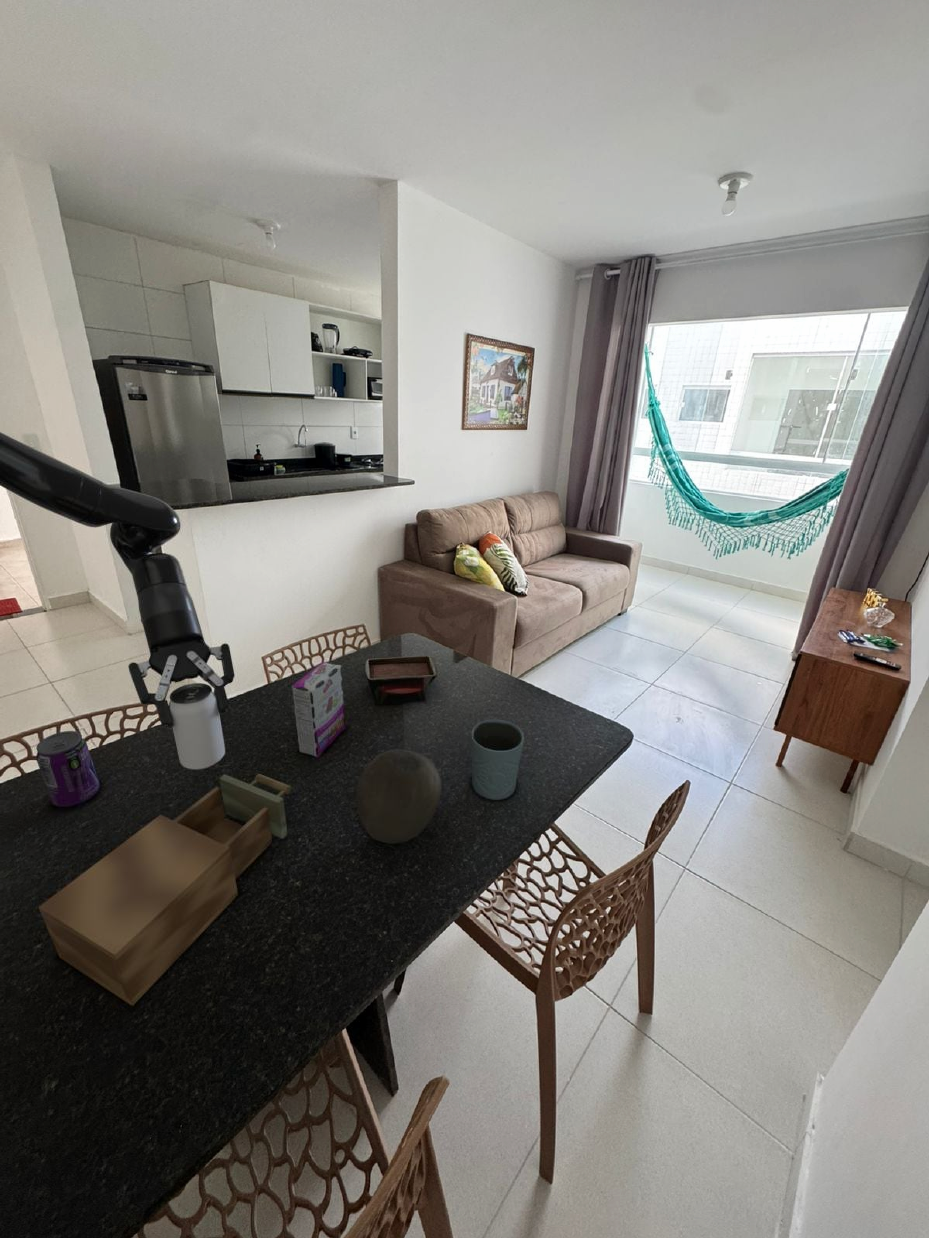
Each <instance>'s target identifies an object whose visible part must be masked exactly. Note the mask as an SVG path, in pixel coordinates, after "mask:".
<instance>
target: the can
mask: <svg viewBox="0 0 929 1238" xmlns="http://www.w3.org/2000/svg"><path fill="white" fill-rule="evenodd" d="M212 688H213V687H212V686H211V685H210V684H207V683H204V682H203V683H201V682H194V683H193V682H192V683H188V684H184V685H181V686H178V687H177V688H175V689H174V690H173V691H172V692H171V693H170V694H169V701H168V705H169V709H170V713H171V717H172V721H173V727H172V731H173V736H174V740H175V741H174V743H175V745H176V750H177V756H178V760H179V763H180V765H181V766H182V767H184V768H186V769H188V770H190V771H191V770H192V771H200V770H205V769H208V768H211V767H213V766H216V764H218V763H219V762H220V761H221V760H222V759H223V757H224V756H225V755H226V747H225V746H226V745H225V739H224V734H223V728H222V727H223V726H222V721H221V716H220V713H219V709H218V704H217V698H216V695H215V694H214V691H213V689H212Z"/></svg>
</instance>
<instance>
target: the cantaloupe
mask: <svg viewBox="0 0 929 1238" xmlns="http://www.w3.org/2000/svg"><path fill="white" fill-rule="evenodd" d="M442 787H443V786H442V779H441V776H440V773H439V771H438V769H437V768H436V766H435V765H434V763H433V762H432V761H431V760H430V759H429V758H427V757H426V756H425V755H422V754H421V753H418V752H416V751H413V750H408V749H407V750H405V749H401V748H400V749H399V748H398V749H391V750H387V751H384V752H382V753H380V754H378V755H377V756H375V758H373V759H372V760H371V761H370V762H369V764H368V765H367V767H366V768H365V770H364V771H363V773H362V775H361V777H360V779H359V781H358V784H357V786H356V795H355V804H356V811H357V813H358V817H359V820H360V821H361V824H362V826H363V829H364V830H365V831H366V832H367V834H368V835H369V836H370V838H372V839H373V840H375V841H377V842H381V843H384V844H390V845H394V844H395V845H396V844H401V843H404V842H405V843H406V842H408V841H410V840H412V839H414V838H415V837H417V836H418V835H419V834H420V833H422V831H423V830H424V829H425V828H426V827H427V826H428V824H429V823H430V822H431V820H432V818H433V817H434V815H435V813H436V811H437V809H438V806H439V804H440V802H441V797H442V790H443V789H442Z"/></svg>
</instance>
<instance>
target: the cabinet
mask: <svg viewBox="0 0 929 1238" xmlns="http://www.w3.org/2000/svg"><path fill="white" fill-rule="evenodd" d="M238 895H239V891H238V887H237V881H236V880H235V875H234V870H233V864H232V859H231V853H230V847H228V846H226V845H223V844H221V843H219V842H217V841H215V840H213V839H211V838H209V837H206V836H204V835H202V834H200V833H198V832H196V831H194V830H192V829H189V828H187V827H185V826H183V825H181V824H179V823H177V822H175V821H173V820H172V819H170V818H168V817H166V816H164V815H162V814H159V815H158V816H157V817H155V818H154V819H153V820H152V821H150V822H148V823H147V824H146V825H145V826H144V827H142V828H141V829H139V830H138V831H137V832H136V833H134V834H133V835H132V836H131V837H129V838H128V839H126V840H125V841H123V842H122V843H121V844H120V845H118V846H117V847H116V848H114V849H113V850H112V851H111V852H109V853H108V854H106V855H105V856H104V857H102V858H101V859H100V860H98V861H97V862H96V863H95V864H92V866H91V867H89V868H88V869H87V870H85V871H84V872H83V873H81V874H80V875H79V876H77V877H76V878H75V879H73V880H72V881H71V882H70V883H68V884H67V885H65V886H64V887H63V888H62V889H61V890H59V891H57V892H56V893H55V894H54V895H52V896H51V897H50V898H48V899H47V900H46V901H44V902H43V903H41V905H39V906H38V909H39V911H40V915H41V916H42V919H43V921H44V923H45V926H46V929H47V931H48V933H49V936H50V938H51V940H52V943H53V946H54V948H55V950H56V952H57V954H58V957H59V958H60V959H61V960H63V962H66V963H67V964H69V965H70V966H72V967H73V968H75V969H76V970H77V971H79V972H81V973H82V974H83V975H85V976H87V977H88V978H89V979H91V980H92V981H94V982H95V983H97V984H98V985H100V986H101V987H103V988H105V989H106V990H107V991H109V992H111V993H112V994H114V995H115V996H117V997H118V998H120V999H121V1000H122V1001H124V1002H126V1003H127V1004H129V1005H130V1006H131V1007H133V1006H134V1005H135V1004H136V1003H138V1001H139V1000H140V999H141V998H142V997H143V996H144V995H145V993H147V992H148V991H149V989H150V988H151V987H152V986H154V984H155V983H156V982H157V981H158V980H159V979H160V978H161V977H162V976H163V975H164V974H165V973H166V971H168V969H169V968H170V967H171V966H172V965H173V964H174V963H175V962H176V961H177V960H178V959H179V958H180V957H181V956H182V955H183V954H184V952H185V951H186V950H187V949H188V948H190V946H191V945H192V944H193V943H194V942H195V941H196V940H197V939H198V938H199V936H200V935H201V934H203V933H204V931H205V930H206V929H207V928H209V926H210V925H211V924H212V923H213V922H214V921H215V920H216V919H217V917H219V916H220V915H221V914H222V913H223V911H224V910H225V909H226V908H227V907H228V906H229V905H230V904H231V903H232V902H233V901H234V900H235V899H236V897H237V896H238Z"/></svg>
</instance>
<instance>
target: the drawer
mask: <svg viewBox="0 0 929 1238" xmlns="http://www.w3.org/2000/svg"><path fill="white" fill-rule="evenodd" d="M258 783H259V784H261V785H263V786H266V787H269V788H270V789H273V790H275V791H278V793H277V794H274V793H272V792H269V791H267V790H264V789H262V788H259V787H257V786H256V785H257V784H258ZM219 785H220V787H218V786H215V787H214V788H213V789H211V790H210V791H209V792H207V793H205V795H204V796H202V797H201V798H200V799H198V800H197V801H195V802H194V803H193V804H192V805H191V806H190V807H188V808H187V809H185V811H183V812H182V813H181V814H179V815H178V816H176V817H175V818H174V819H173V820H172V821H175V822H177V823H179V824H181V825H183V826H185V827H187V828H189V829H192V830H194V831H196V832H198V833H200V834H202V835H204V836H206V837H209V838H211V839H213V840H215V841H217V842H219V843H221V844H223V845H226V846H228V847H230V853H231V859H232V864H233V870H234V875H235V881H236V880H237V879H238V878H239V877H240V876H241V875H242V874H243V872H245V871H246V870H247V868H249V867H250V865H251V864H253V862H255V861H256V859H257V858H259V856H261V854H262V853H263V852H264V851H265V850H266V849H267V848H268V847H269V846H270V845H271V844H272V843H273V837H272V835H273V836H275V837H277V838H279V839H284V838H285V837H286V836H287V835H288V829H287V827H288V826H287V820H286V819H287V818H286V810H285V801H284V797H283V796H284V795H285V794H286V795H289V794H290V793H291V792H292V786H291V785H288V784H286V783H284V782H281V781H278V780H276V779H274V778H271V777H269V776H266V775H263V774H261V773H257V774H256V775H255V777H254V780H252V781H251V782H250V783H247V782H245V781H242V780H240V779H237V778H235V777H232V776H229V775H228V774H223V775H222V776H220V777H219ZM225 814H226V815H228V816H230V817H231V818H234V819H236V820H238V821H241V822H244V823H245V824H244V825H243V824H241V823H238V822H236V821H234V820H232V819H229V818H227V817H226V816H225Z"/></svg>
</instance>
